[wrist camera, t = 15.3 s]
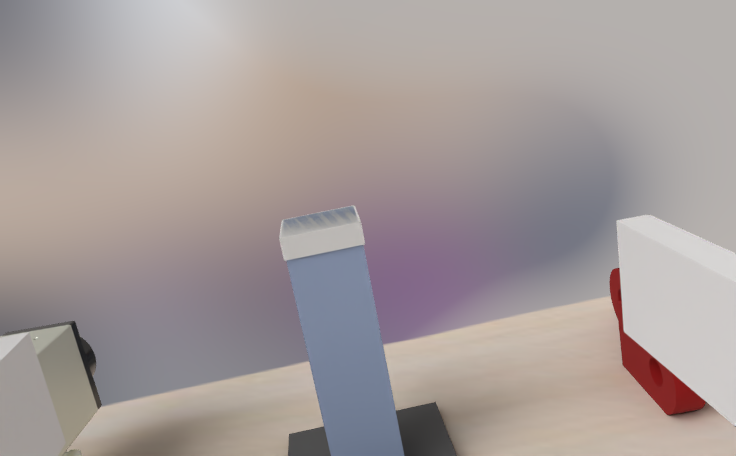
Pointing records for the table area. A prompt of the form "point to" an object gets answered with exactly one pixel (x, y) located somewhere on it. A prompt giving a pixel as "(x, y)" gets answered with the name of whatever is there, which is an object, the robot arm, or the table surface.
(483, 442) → the table surface
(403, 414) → the mat
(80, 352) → the pneumatic valve
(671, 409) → the mechanical linkage
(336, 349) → the plug
